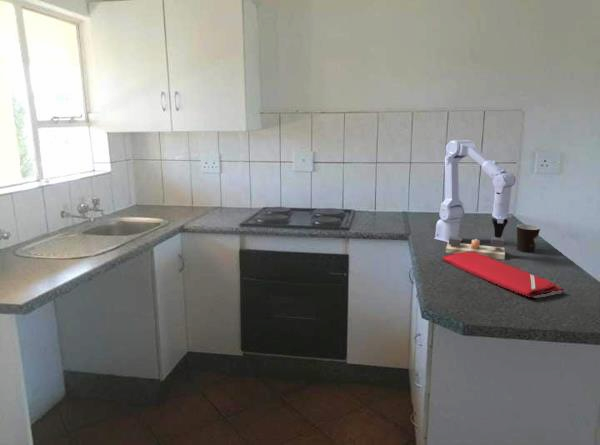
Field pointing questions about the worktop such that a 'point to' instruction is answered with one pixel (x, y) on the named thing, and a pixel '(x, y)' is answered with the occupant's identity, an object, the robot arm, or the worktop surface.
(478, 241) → the orange knob
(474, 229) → the worktop surface
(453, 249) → the mount board
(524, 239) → the coffee mug
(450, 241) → the button
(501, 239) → the button
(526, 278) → the dish drying mat
